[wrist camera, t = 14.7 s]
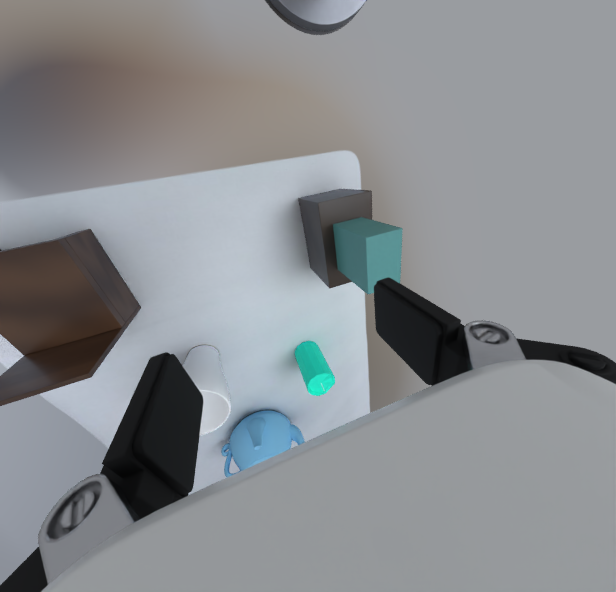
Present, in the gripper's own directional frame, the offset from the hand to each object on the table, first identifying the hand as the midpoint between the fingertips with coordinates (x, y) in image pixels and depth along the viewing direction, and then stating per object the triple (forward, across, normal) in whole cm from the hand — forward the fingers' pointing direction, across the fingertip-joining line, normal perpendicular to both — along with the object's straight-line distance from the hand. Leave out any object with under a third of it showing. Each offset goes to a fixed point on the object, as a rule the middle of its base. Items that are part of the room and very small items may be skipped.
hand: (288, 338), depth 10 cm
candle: (+32, -4, +31) cm, 45 cm away
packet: (+22, -14, +5) cm, 26 cm away
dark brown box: (+32, -14, +4) cm, 35 cm away
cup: (+32, +16, +23) cm, 42 cm away
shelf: (+32, +27, +1) cm, 42 cm away
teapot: (+32, +12, +52) cm, 62 cm away
